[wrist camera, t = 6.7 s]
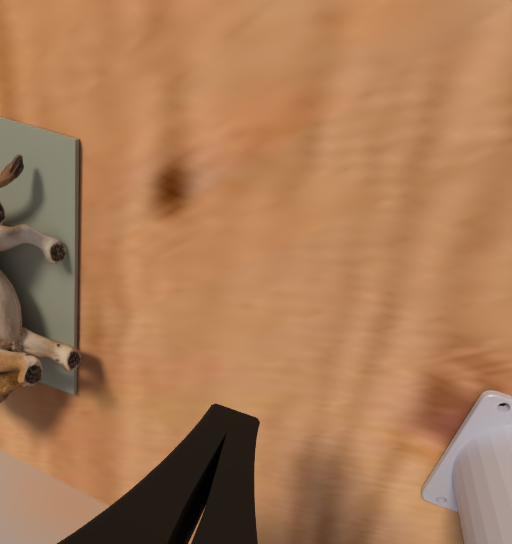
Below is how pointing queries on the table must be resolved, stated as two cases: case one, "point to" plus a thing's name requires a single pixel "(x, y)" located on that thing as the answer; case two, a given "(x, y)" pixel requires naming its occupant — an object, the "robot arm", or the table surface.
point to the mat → (48, 220)
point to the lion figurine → (7, 311)
